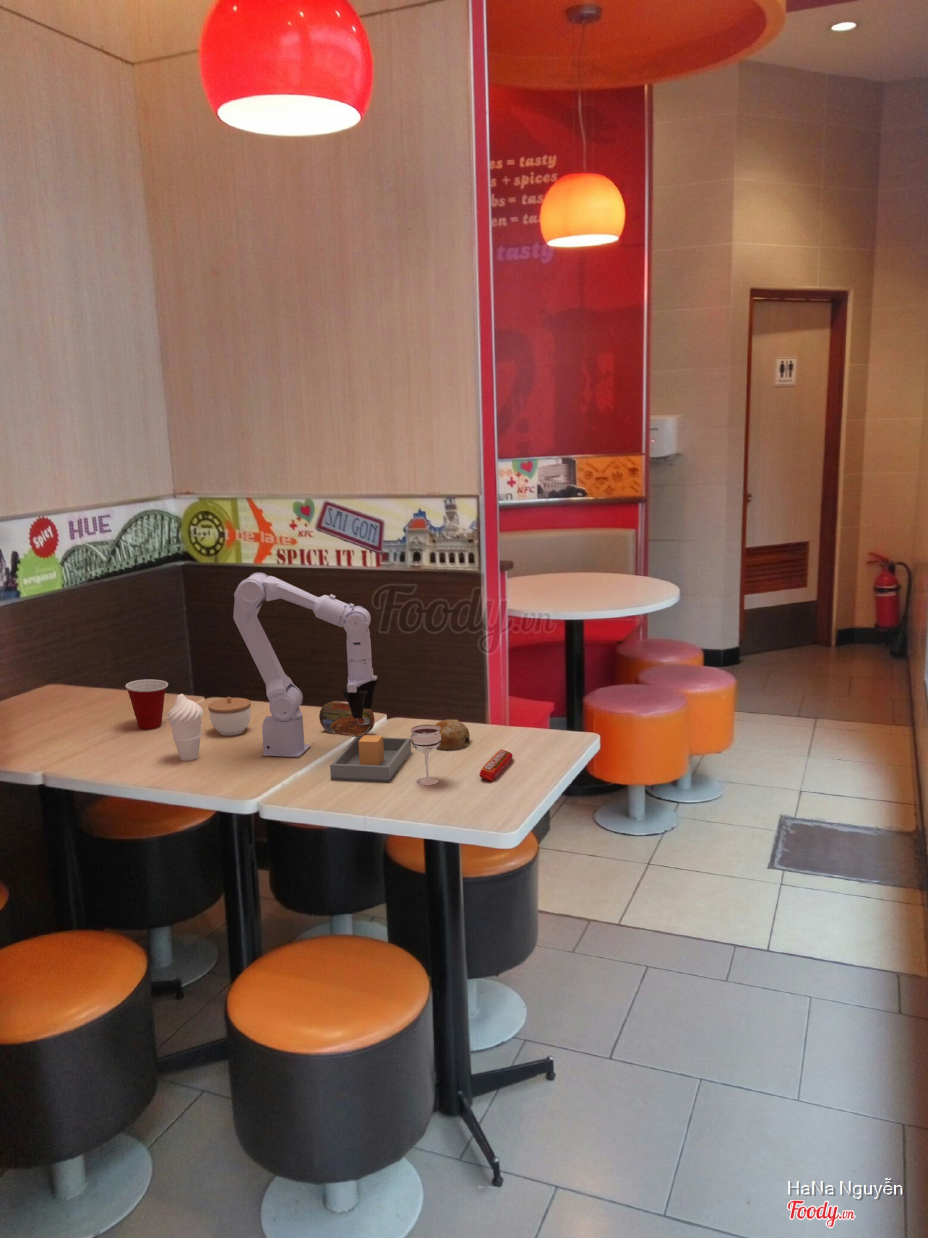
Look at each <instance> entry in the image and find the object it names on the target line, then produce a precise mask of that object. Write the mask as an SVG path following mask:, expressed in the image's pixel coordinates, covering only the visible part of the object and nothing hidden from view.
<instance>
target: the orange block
mask: <svg viewBox="0 0 928 1238" xmlns="http://www.w3.org/2000/svg"><path fill="white" fill-rule="evenodd" d="M361 737H362V738H361V739H360V740H359V741H358V743H359V760H360V765H375V766H380V765H381V763H382V762H383V761H384V747H383V737H384V735H374V734H373V735H372V734H370V735H369V734H365V735H363V736H361Z"/></svg>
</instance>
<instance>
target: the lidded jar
mask: <svg viewBox="0 0 928 1238" xmlns="http://www.w3.org/2000/svg"><path fill="white" fill-rule="evenodd" d="M251 704H252V702H251V700H249V699H248V698H242V697H231V696H227V697H226V698H220V699H217V700H214V701H211V702H210V703H209V704H208V708H207V709H208V713H209V718H210V719H209V720H210V722H211V726H212V727H213V728H214V729H215V730H216V732H218V733H219V735H220V736H225V737H227V736H228V737H230V736H236V735H240V734H242V733H244V731H245V729H246V728H247V727H248V726H249V724H250V721H251V715H252V707H251V706H252V705H251Z"/></svg>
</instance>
